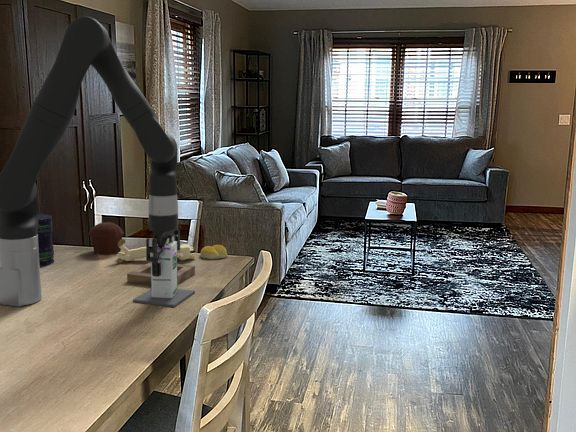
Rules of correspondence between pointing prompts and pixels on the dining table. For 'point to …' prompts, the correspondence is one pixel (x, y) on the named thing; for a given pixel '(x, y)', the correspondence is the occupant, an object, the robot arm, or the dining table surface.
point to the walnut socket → (144, 274)
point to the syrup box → (166, 273)
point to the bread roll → (214, 252)
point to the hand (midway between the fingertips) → (164, 271)
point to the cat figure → (141, 253)
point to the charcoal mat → (170, 302)
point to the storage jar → (45, 240)
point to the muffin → (106, 238)
